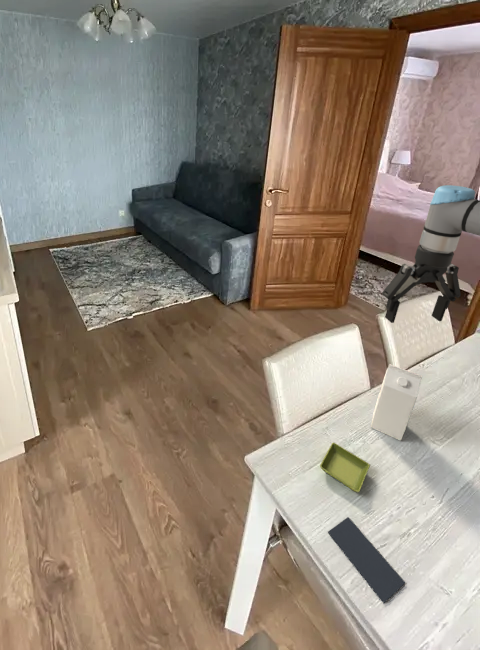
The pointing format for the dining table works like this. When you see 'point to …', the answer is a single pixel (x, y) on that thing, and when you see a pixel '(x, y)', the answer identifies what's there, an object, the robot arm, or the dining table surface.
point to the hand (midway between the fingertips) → (412, 319)
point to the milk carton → (396, 401)
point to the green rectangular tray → (345, 467)
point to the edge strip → (366, 559)
